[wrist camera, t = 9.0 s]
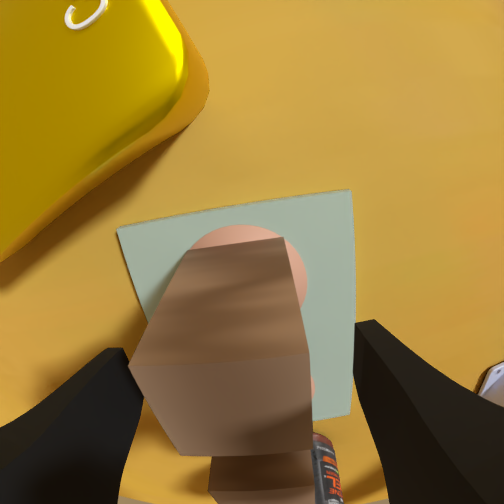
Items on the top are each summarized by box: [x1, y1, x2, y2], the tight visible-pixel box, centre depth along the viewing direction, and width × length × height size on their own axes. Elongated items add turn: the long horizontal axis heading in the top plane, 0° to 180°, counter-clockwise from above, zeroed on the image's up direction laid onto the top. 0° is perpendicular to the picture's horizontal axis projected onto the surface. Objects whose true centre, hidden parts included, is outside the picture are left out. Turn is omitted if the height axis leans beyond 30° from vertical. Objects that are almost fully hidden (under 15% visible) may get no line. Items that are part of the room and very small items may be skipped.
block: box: [208, 450, 315, 504], centre depth 13 cm, size 4×4×7 cm
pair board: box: [116, 189, 356, 421], centre depth 15 cm, size 10×14×1 cm
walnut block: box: [128, 237, 313, 456], centre depth 10 cm, size 4×4×7 cm
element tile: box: [0, 0, 209, 263], centre depth 8 cm, size 15×15×5 cm
